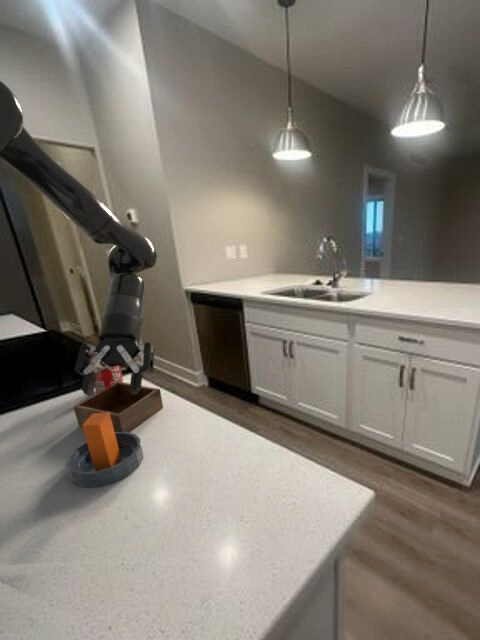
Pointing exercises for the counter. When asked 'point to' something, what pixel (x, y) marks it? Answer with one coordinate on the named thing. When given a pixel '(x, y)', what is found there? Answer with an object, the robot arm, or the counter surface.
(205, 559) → the counter surface
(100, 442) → the block
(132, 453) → the bowl
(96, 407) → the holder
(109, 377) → the soda can
